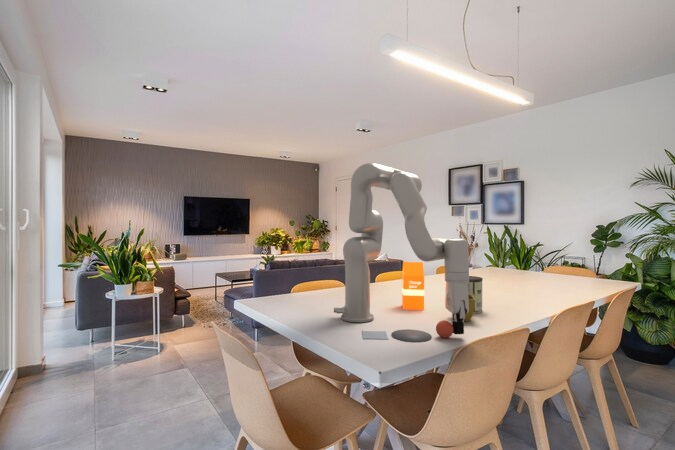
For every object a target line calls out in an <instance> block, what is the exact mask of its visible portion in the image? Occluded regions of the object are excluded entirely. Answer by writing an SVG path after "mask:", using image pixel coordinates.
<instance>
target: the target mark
mask: <svg viewBox="0 0 675 450" xmlns="http://www.w3.org/2000/svg"><path fill="white" fill-rule="evenodd" d="M390 336H391V337H392V338H393V339H395V340H398V341H402V342H408V343H425V342H428V341H430V340H432V339H433V338H432V337H433V336H432V335H431V334H430V333H428V332H426V331H423V330H418V329H408V328H407V329H397V330H393V331H392V332H391V335H390Z"/></svg>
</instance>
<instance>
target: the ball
mask: <svg viewBox="0 0 675 450" xmlns="http://www.w3.org/2000/svg"><path fill="white" fill-rule="evenodd" d="M453 331H454V329H453V326H452V322H450V321H449V320H446V319H445V320H440V321H438V322H437V324H436V326H435V332H436V334H437V335H438V336H439V337H441V338H443V339H447V338H450V337H452V336H453V334H454V333H453Z"/></svg>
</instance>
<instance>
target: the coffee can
mask: <svg viewBox="0 0 675 450" xmlns="http://www.w3.org/2000/svg"><path fill="white" fill-rule="evenodd" d="M483 279H484V278H483V277H481V276H474V275H473V276H472V275H469V282H467V287H468V295H472V296H473V297H474V298H475V307H474V313H473V314H480V313H483Z"/></svg>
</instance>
